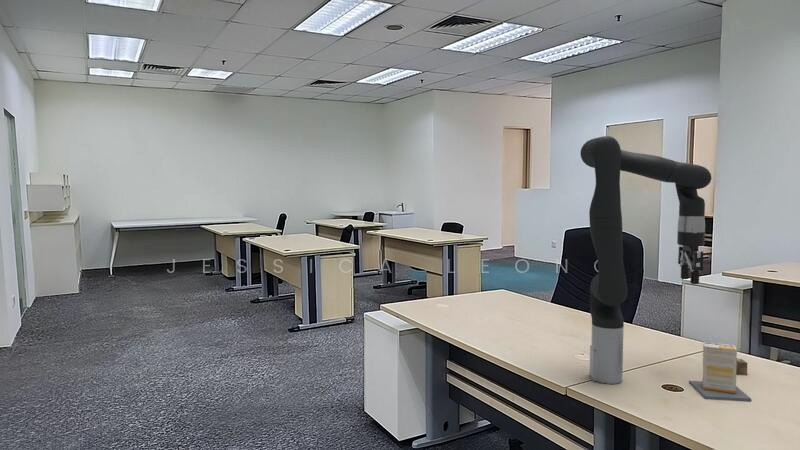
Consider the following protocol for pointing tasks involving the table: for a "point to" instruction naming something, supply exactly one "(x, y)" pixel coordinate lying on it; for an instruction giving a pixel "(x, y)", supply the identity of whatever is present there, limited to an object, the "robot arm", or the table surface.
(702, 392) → the rubber mat
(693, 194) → the robot arm
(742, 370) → the letter cube
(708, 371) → the supplement box
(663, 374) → the table surface
